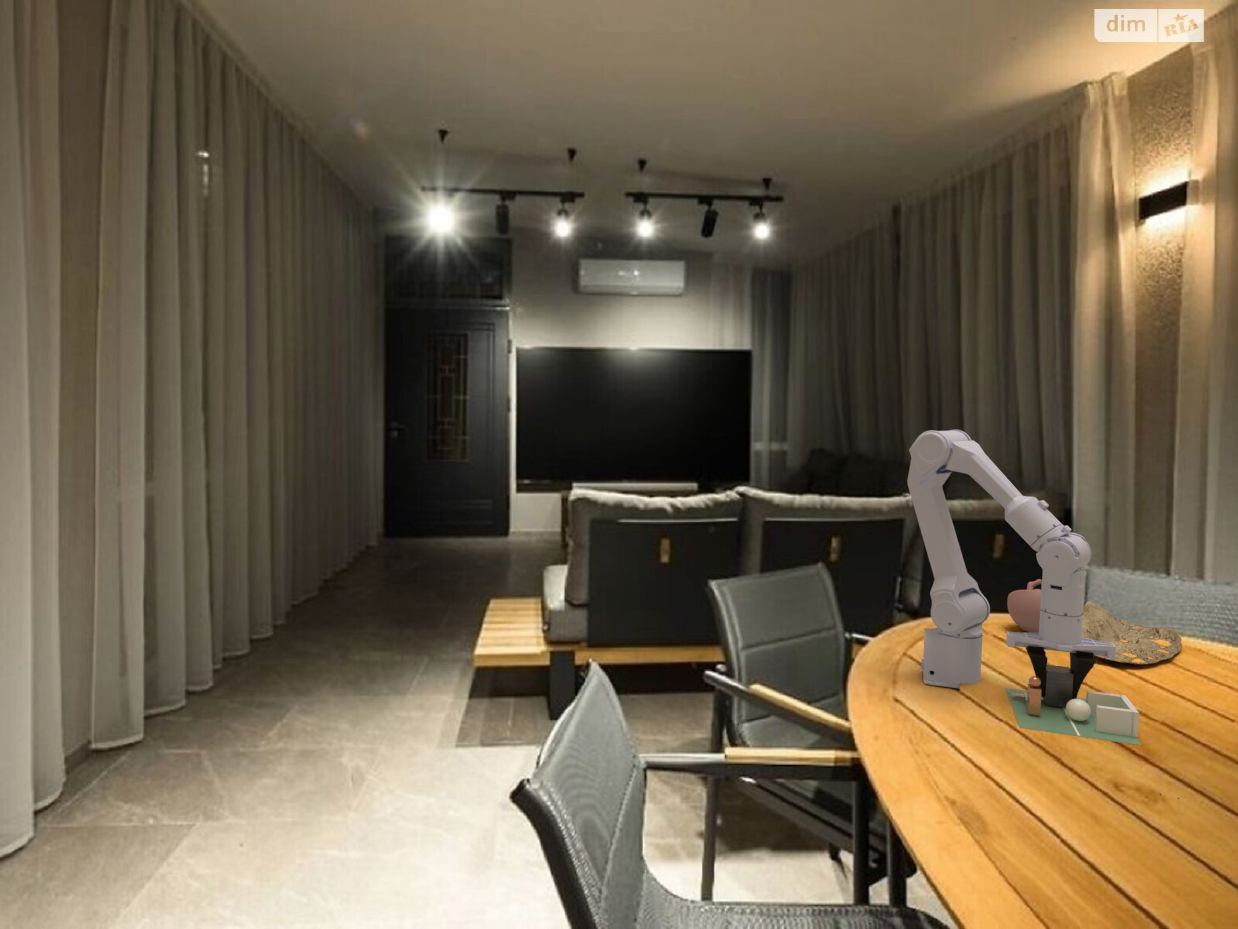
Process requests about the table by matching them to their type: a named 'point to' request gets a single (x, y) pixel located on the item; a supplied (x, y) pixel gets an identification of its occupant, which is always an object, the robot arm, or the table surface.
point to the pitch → (1060, 721)
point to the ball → (1078, 710)
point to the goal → (1113, 713)
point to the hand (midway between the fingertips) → (1056, 695)
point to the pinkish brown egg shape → (1026, 607)
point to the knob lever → (1048, 689)
